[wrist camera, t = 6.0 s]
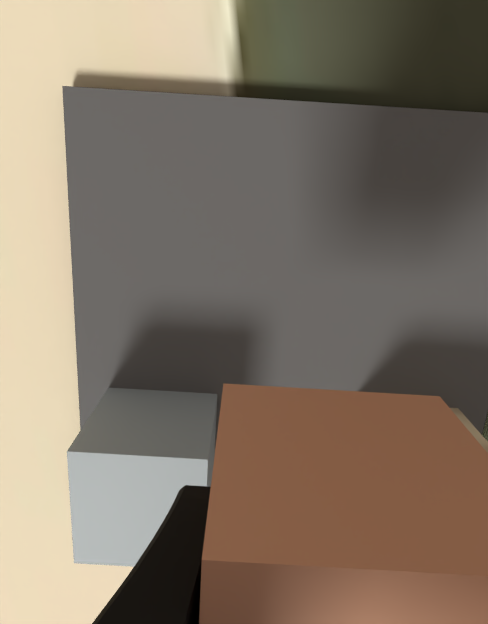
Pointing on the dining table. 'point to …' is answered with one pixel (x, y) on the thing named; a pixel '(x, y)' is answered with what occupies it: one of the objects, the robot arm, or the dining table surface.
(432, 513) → the terracotta block
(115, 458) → the slate block
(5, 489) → the dining table surface
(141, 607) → the robot arm
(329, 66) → the dining table surface
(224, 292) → the mat
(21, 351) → the dining table surface
